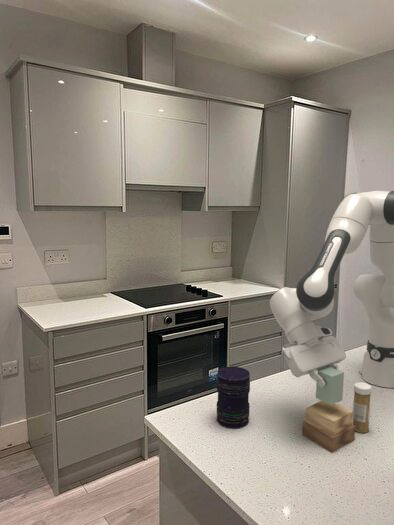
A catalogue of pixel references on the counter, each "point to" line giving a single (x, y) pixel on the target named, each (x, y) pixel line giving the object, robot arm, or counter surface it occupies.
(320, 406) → the oak block
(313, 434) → the walnut block
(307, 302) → the robot arm
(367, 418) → the sprinkles bottle
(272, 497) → the counter surface
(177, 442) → the counter surface
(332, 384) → the sage block
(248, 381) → the storage jar
